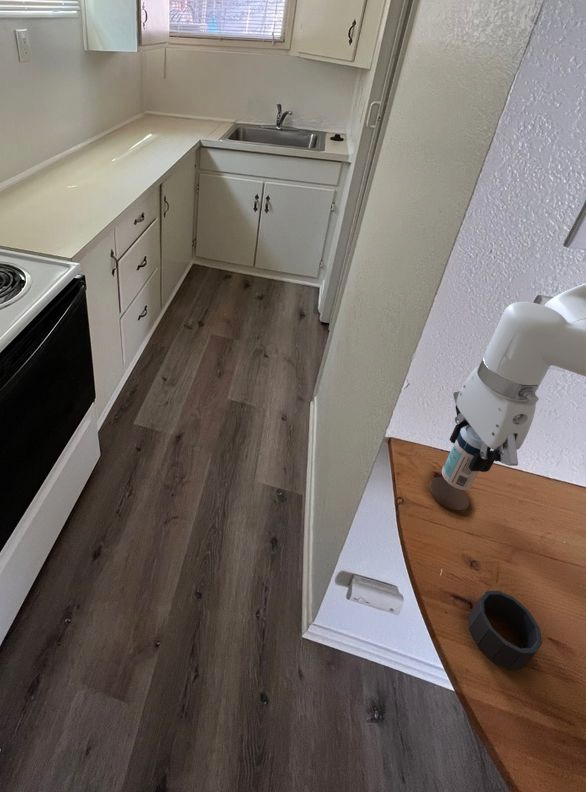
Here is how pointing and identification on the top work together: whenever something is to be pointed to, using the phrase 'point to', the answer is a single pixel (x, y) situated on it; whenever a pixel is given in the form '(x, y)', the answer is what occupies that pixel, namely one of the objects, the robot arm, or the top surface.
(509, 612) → the ring
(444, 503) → the coaster
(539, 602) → the top surface
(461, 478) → the beer can
